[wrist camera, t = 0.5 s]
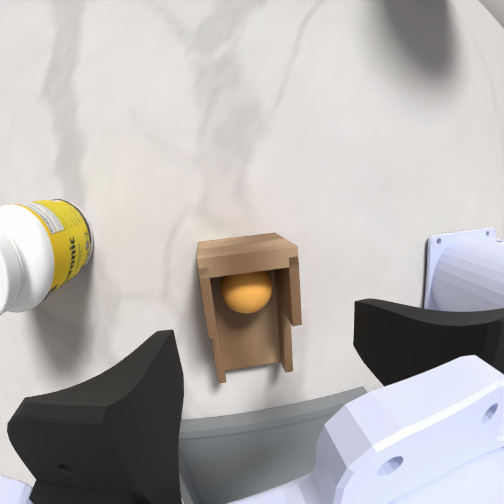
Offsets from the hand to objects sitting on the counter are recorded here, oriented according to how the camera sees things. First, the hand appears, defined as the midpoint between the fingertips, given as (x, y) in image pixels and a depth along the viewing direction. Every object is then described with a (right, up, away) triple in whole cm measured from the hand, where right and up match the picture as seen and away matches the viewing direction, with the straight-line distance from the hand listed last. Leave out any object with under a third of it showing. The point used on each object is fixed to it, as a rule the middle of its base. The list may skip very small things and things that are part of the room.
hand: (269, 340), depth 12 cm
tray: (+1, -16, +13) cm, 21 cm away
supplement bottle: (-14, +4, +7) cm, 16 cm away
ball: (-1, +1, +7) cm, 7 cm away
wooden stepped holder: (-1, 0, +10) cm, 10 cm away
